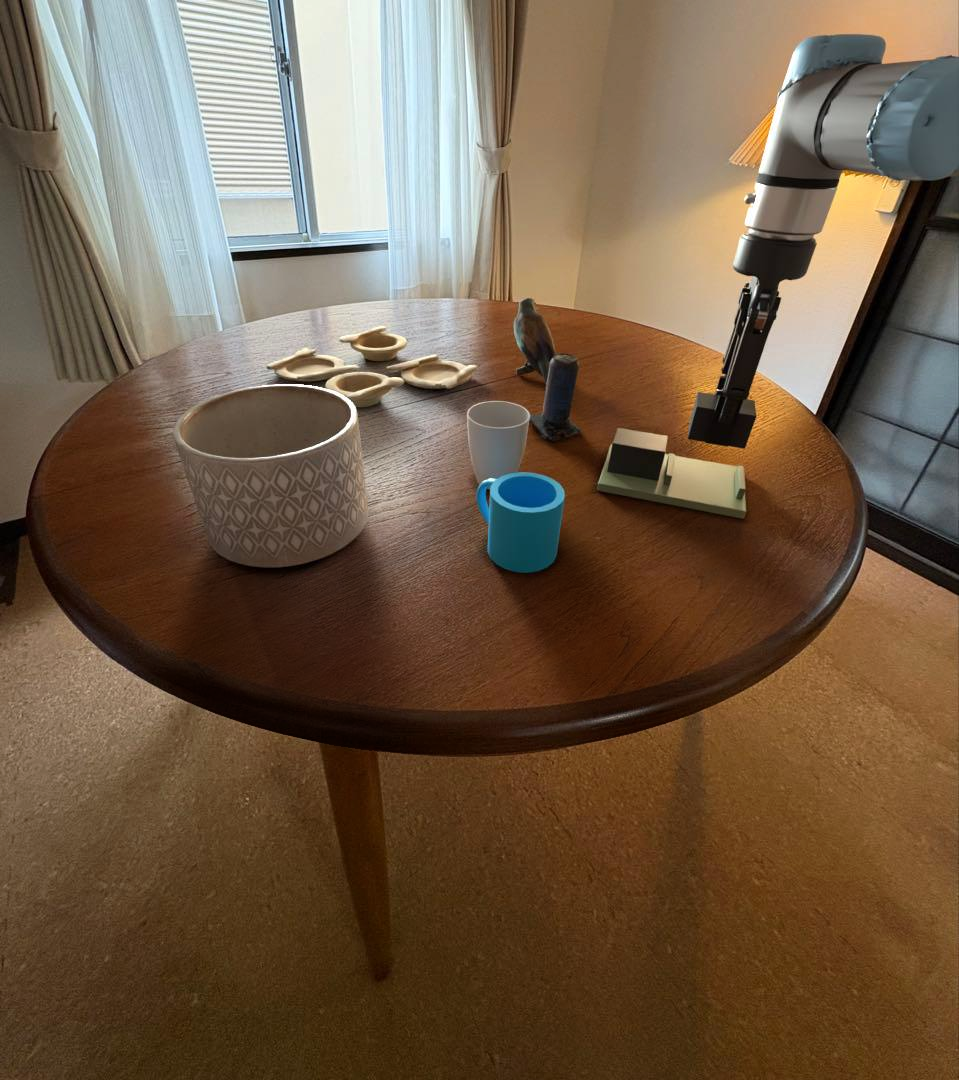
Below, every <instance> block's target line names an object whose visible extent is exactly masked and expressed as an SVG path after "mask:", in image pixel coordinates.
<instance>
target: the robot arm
mask: <svg viewBox="0 0 959 1080" xmlns="http://www.w3.org/2000/svg"><path fill="white" fill-rule="evenodd" d="M886 47H887V43H886V40H885V39H884V37H882V36H880V35H874V34H862V33H845V34H844V33H839V34H838V33H837V34H830V35H827V34H823V35H813V36H810V37H807V38H805V39H804V40H802V41H801V42H800V43H799V44H798V45H797V46H796V47H795V49H794V51H793V52H792V56H791V58H790V62H789V64H788V68H787V70H786V74H785V78H784V81H783V84H782V87H781V88H780V90H779V92H778V93H777V98H776V99H777V100H776V101H777V102H776V105H775V109H774V113H773V117H772V121H771V125H770V128H769V132H768V136H767V139H766V143H765V147H764V151H763V154H762V158H761V162H760V165H759V169H758V174H757V178H756V183H755V185H754V190H755V192H754V193H752V192H751V193H747V194H746V195H745V197H744V201H743V202H744V204H745V205H750V206H749V207H748V210H747V214H746V216H745V217H746V218H745V221H744V225H745V227H746V228H747V229H748V230H747V231H744V232H743V233H742V234H741V235H740V237H739V240H738V244H737V247H736V251H735V253H734V258H733V262H732V269H733V270H734V271H735V272H736V273H738V274H740V275H742V276H746V277H751V278H750V280H749V282H748V281H747V282H745V284H744V285H743V287H741V289H740V292H739V296H738V306H737V308H736V313H735V316H734V321H733V322H734V323H733V327H732V330H731V334H730V337H729V340H728V343H727V347H726V349H725V353H724V356H723V357H722V363H721V364H722V366H721V368H720V372H721V375H719V378H718V381H717V384H716V388H715V392H714V394H715V395H719V398H718V401H717V405H716V408H715V411H714V415H713V418H712V421H711V424H710V428H709V431H708V434H707V438H706V442H705V444H709V445H715V446H720V447H721V446H722V447H726V448H728V447H729V446H728V445H729V442H730V439H731V436H732V433H733V430H734V427H735V424H736V421H737V418H738V415H739V412H740V409H741V406H742V403H743V400H746V399H748V398H749V397H750V391H751V388H752V385H753V382H754V380H755V376H756V373H757V370H758V367H759V364H760V361H761V358H762V355H763V352H764V349H765V346H766V344H767V341H768V337H769V335H770V332H771V329H772V327H773V325H774V322H775V321H776V320H777V318H778V317H777V316H778V315H777V313H778V311H779V308H780V305H781V301H782V296H779V295H780V290H779V286H780V283H781V282H783V281H786V280H787V281H797V280H800V279H803V277H805V276H806V274H807V273H808V270H809V267H810V264H811V261H812V258H813V256H814V252H815V251H816V247H817V245H818V243H817V240H816V238H814V236H815V235H818V234H820V233H821V232H822V231H823V229H824V226H825V224H826V221H827V218H828V216H829V213H830V210H831V207H832V204H833V201H834V199H835V196H836V193H837V190H838V186H839V183H840V179H841V176H842V174H843V171H847V172H855V173H860V174H866V175H874V176H880V177H887V178H888V179H890V180H894V181H898V182H901V181H913V182H919V181H938V180H942V179H945V178H948V177H955V178H956V177H959V56H955V55H952V54H950V55H942V56H938V57H937V56H936V57H935V58H933V59H932V58H931V59H920V60H911V61H909V60H908V61H901V62H888V63H883V59H884V56H885V52H886V50H887V49H886Z"/></svg>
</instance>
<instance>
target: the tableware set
mask: <svg viewBox="0 0 959 1080" xmlns="http://www.w3.org/2000/svg"><path fill="white" fill-rule="evenodd" d="M386 331H387V327H386V326H384V325H381V326H377V327H374V328H371V329H368V330H365V331H363V332H360V333H355V334H347V335H343V336H340V337H339V338H338V341H339V342H340V343H343V344H349V345H350V348H351V349H352V350H354V351H356V352H359V353H360V354H361V355H362V356H363V358H365V359H366V360H367V361H373V362H385V361H391V360H393V359H395V358H396V356H397V354H398V353H399V352H400V351H402V350H405V348H406V347H407V346H408V340H407V339H406V338H405V336H401V335H398V334H395V333H385V332H386ZM317 352H318V350H317V349H313V348H308V347H305V348H302V349H300V350H298V351H296V352H295V354H293V355H290V356H287V357H284V358H282V359H279V360H277V361H274V362H270V363H268V364H266V366H265V367H266V369H267V370H270V371H274V373H275V375H276V376H277V377H278V378H281V379H284V380H286V381H293V382H316V381H317V382H319V381H323V380H327V381H326V382H325V385H324V389H328V390H331V391H334V392H337V393H339V394H341V395H343V396H344V397H346V398H347V399H349V400H350V401H351V402H352V403H353V404H354V405H355V407H356V408H366V407H371V406H374V405H376V404H378V403H379V402H380V401H381V399H382V397H383V396H384V395H385V394H388V393H389V392H391V391H392V389H393V388H399V387H400V386H402V385H403V384H404V383H407V384H409V385H411V386H414V387H417V388H422V389H447V390H450V389H452V388H454V387H458V386H460V385H461V386H462V385H463V384H466V383H467V382H468V381H470V379H471V378H472V374H473V373H474V372H476V371H477V370H478V366H477V365H476V364H469V365H465V364H463V363H460V362H456V361H450V360H443V359H442V360H441V359H440V355H439V354H432V355H428V356H423V357H419V358H415V359H412V360H408V361H404V362H400V363H397V364H396V363H395V364H392V365H388V366H386V367H385V368H386V371H387V372H390V373H395V372H399V371H400V377H397V376H396V377H395V376H393V377H389V376H387V375H385V374H381V373H379V372H378V373H377V372H371V371H370V372H369V371H360V369H361V368H360V366H359V365H357V364H348V365H346V363H345V362H344V360H342V359H341V358H339V357H336V356H332V355H328V354H316V353H317Z"/></svg>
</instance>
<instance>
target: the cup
mask: <svg viewBox="0 0 959 1080" xmlns="http://www.w3.org/2000/svg"><path fill="white" fill-rule="evenodd" d="M530 415H531V414H530V412H529V410H528V409H527V408H525V407H524V406H522V405H520V404H518V403H514V402H510V401H503V400H489V401H483V402H479V403H476V404H474V405H472V406H470V407H469V408H468V410H467V411H466V420H467V421H466V422H467V439H468V441H467V442H468V447H469V454H470V459H471V465H472V469H473V472H474V475H475V478H476V481H477V484H478V486H480V484H481V483H482V482H483V481H485V480H488V479H490V478H494V479H498V478H500V477H501V476H504V475H507V474H510V473H518V472H519V471H520V468H521V464H522V461H523V457H524V454H525V449H526V446H527V438H528V432H529V425H530V423H529V419H530ZM490 487H491V486H489V487H488V488H487V489H486V490H490Z"/></svg>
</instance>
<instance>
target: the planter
mask: <svg viewBox="0 0 959 1080" xmlns="http://www.w3.org/2000/svg"><path fill="white" fill-rule="evenodd" d="M172 438H173V441H174V444H175V447H176V451H177V452H178V453H177V454H178V456H179V459H180V462H181V464H182V468H183V471H184V474H185V476H186V479H187V483H188V485H189V488H190V491H191V494H192V497H193V501H194V503H195V506H196V509H197V511H198V515H199V518H200V521H201V524H202V527H203V530H204V532H205V535H206V538H207V541H208V544H209V546H211V548H212V550H213V551H215V553H217V554H218V555H219V556H221V557H223V558H225V559H226V560H228V561H230V562H233V563H236V564H239V565H242V566H243V565H244V566H249V567H254V568H255V567H256V568H284V567H292V566H293V567H294V566H298V565H303V564H308V563H310V562H311V563H312V562H314V561H317V560H320V559H323V558H325V557H327V556H330V555H332V554H334V553H336V552H338V551H339V550H342V549H343V548H345V547H346V546H347V545H349V544H350V543H351V542H352V541H354V540H355V539H356V538H357V537H358V536H359V535H360V533H361V532H362V531H363V530H364V529H365V526H366V524H367V522H368V519H369V514H370V512H369V504H368V495H367V485H366V484H367V483H366V477H365V469H364V459H363V451H362V450H363V449H362V441H361V432H360V424H359V415H358V410H357V407H355V405H354V404H353V403H352V402H351V401H350V400H349V399H347V398H346V397H344V396H343V395H341V394H339V393H337V392H334V391H331V390H328V389H326V388H325V387H324V388H323V387H318V386H314V385H313V386H312V385H304V384H267V385H258V386H252V387H251V386H250V387H244V388H240V389H236V390H231V391H228V392H225V393H221V394H218V395H215V396H212V397H210V398H207V399H205V400H203V401H201V402H198V403H197V404H195V405H193V406H192V407H190V408H189V409H187V410H186V411H185V412H183V414H181V415H180V417H178V418H177V420H176V421H175V423H174V425H173V427H172Z"/></svg>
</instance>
